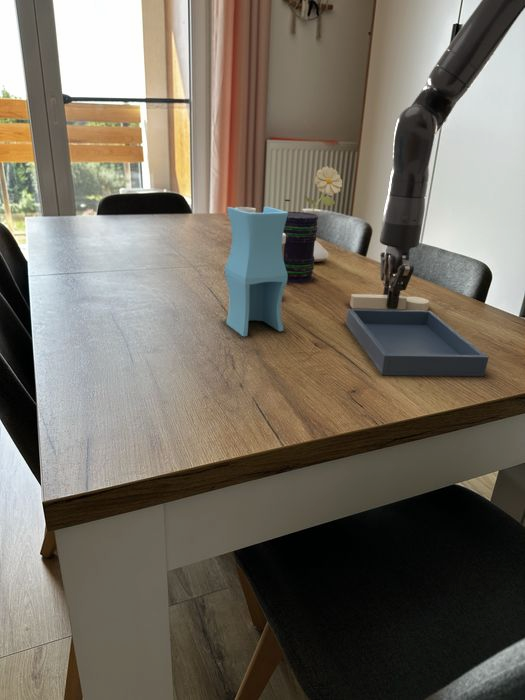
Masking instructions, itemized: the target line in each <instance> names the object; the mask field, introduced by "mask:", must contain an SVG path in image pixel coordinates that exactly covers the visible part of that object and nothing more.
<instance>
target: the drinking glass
mask: <svg viewBox="0 0 525 700" xmlns="http://www.w3.org/2000/svg"><path fill="white" fill-rule="evenodd" d="M234 208H235V209H239V210H242V211H245V212H252V213H256V210H257V209H256V207H249V206H235V207H234Z"/></svg>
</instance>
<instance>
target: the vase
mask: <svg viewBox="0 0 525 700" xmlns="http://www.w3.org/2000/svg"><path fill="white" fill-rule="evenodd" d="M226 210H227V215H228V219H229V224H230V230H231V246H230V251H229V255H228V258H227V261H226V263H225V266H224V275H225V280H226V284H227V290H228V298H229V299H228V301H229V302H228V312H227V318H226V323H225V324H226V325H227V326H228V327H230V328H231V330H234V331H235V332H236V333H237V334H239V335H240V336H242V337H248V331H249V321H250V322H251V321H257V322H258V321H259V322H264V323H266V324H267V325H268V326H271V327H272V328H273V329H274V330H277V331H278V332H284V331H285V330H284V326H283V320H282V300H283V298H284V292H285V288H286V286H287V284H288V283H287V278H288V274H287V271H286V268H285V264H284V260H283V254H282V236H283V231H284V226H285V223H286V219H287V216H288V212H289V211H286V210H283V209H278V208H276V207H271V206H264V207H263V211H262V212H255V213H252V212H245V211H242V210H239V209H235V207H232V206H227V207H226Z"/></svg>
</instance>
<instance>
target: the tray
mask: <svg viewBox="0 0 525 700" xmlns="http://www.w3.org/2000/svg"><path fill="white" fill-rule="evenodd" d="M345 325H346V327H347V328H348V330H349V331H350V332H351V334H352V336H353V337H354V338H355V340H356V341H357V342H358V344H359V345H360V347H361V349H363V351H364V353H365V354H366V355H367V356H368V358H369V359H370V361H371V362H372V364H373V365H374V367H375V368H376V369H377V371H378V372H379V374H380V375H381V376H413V377H414V376H419V377H420V376H422V377H438V376H439V377H485V375H486V370H487V367H488V362H489V356H488V355H487V354H485V353H484V352H483V351H482V350H480V349H479V347H477V346H476V345H474V344H473V343H472V342H471V341H469V340H468V339H467V338H465V337H464V336H463V335H462V334H461V333H459V332H458V331H457V330H456V329H454V328H453V327H452V326H451V325H449V324H448V323H447V322H445V321H444V320H443V319H442V318H441V317H439V316H438V315H437V314H436V313H434V312H433V311H432V310H427V311H417V310H406V309H405V310H401V309H359V308H348V309H347V314H346V323H345Z"/></svg>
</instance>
